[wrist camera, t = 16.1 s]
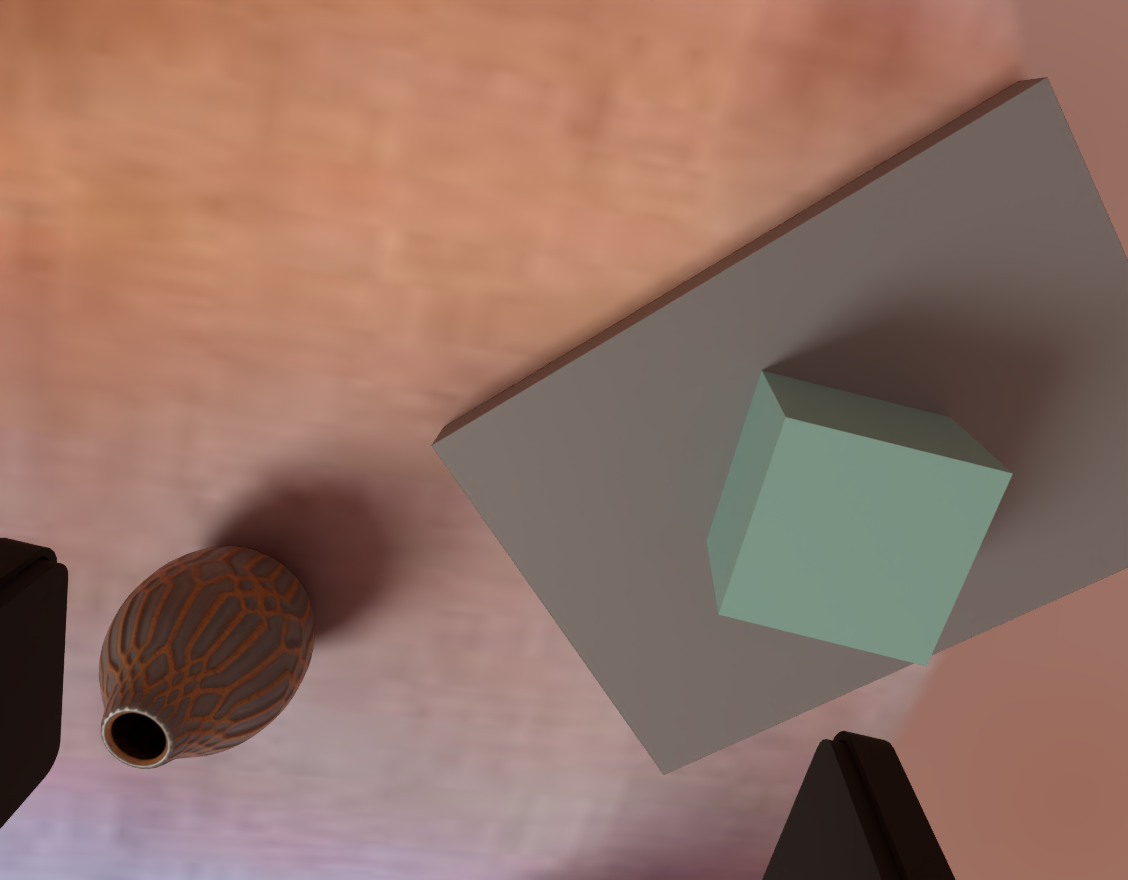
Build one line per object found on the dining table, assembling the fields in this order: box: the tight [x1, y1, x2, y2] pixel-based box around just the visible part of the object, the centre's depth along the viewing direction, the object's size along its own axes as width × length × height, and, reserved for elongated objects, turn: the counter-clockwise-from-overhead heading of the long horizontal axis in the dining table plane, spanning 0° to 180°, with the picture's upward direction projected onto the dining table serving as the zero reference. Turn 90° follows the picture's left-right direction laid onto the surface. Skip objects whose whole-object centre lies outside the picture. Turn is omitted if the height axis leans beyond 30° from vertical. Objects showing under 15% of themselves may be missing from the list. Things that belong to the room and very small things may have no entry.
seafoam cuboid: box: [707, 371, 1013, 666], centre depth 27 cm, size 6×6×5 cm
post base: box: [431, 77, 1128, 775], centre depth 29 cm, size 22×16×6 cm
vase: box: [99, 546, 315, 769], centre depth 31 cm, size 7×7×9 cm
